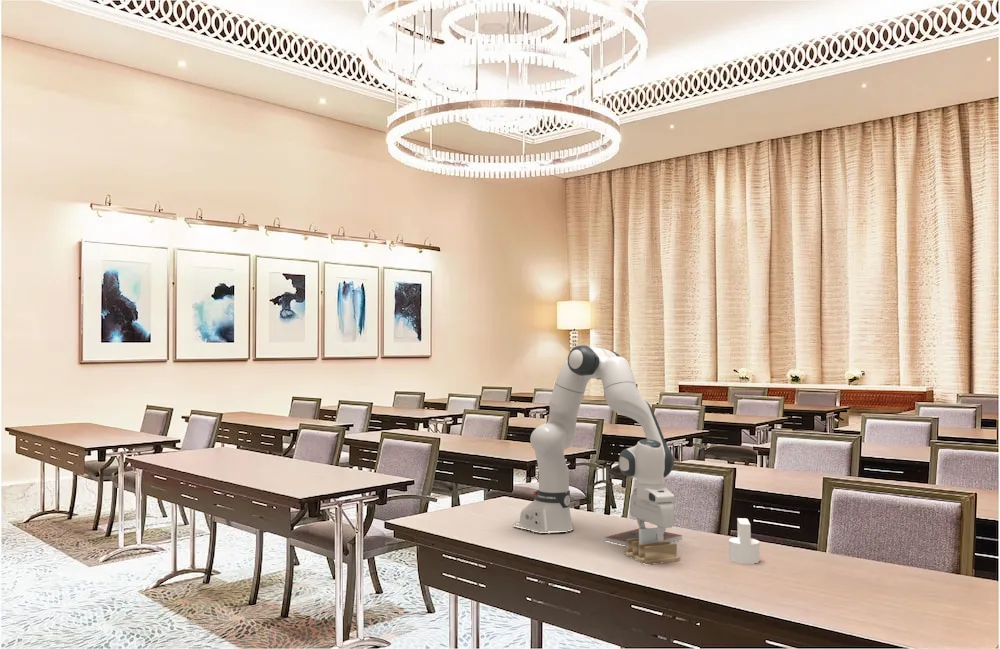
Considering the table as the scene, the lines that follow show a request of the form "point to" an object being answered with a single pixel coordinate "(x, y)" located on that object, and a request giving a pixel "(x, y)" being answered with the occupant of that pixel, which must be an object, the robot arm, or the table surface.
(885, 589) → the table surface
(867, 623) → the table surface
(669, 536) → the picture frame
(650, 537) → the grey block
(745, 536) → the cylinder with rectangular tab
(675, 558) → the rack
